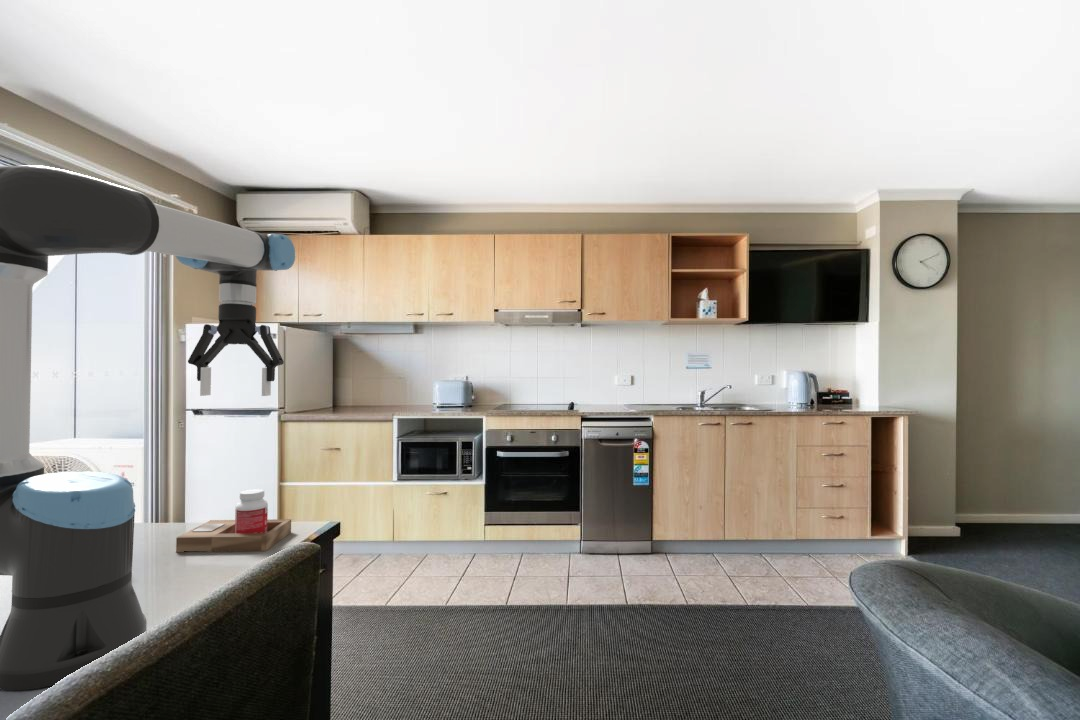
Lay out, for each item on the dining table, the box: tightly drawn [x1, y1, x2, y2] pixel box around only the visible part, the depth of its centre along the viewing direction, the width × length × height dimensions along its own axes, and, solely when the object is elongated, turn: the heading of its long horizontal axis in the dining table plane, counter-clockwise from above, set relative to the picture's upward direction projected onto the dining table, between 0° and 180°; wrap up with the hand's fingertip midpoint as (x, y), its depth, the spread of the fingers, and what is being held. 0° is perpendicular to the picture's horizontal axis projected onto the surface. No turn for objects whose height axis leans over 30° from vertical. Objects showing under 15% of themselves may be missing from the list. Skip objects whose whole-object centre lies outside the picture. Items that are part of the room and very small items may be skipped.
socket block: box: [175, 518, 292, 553], centre depth 110 cm, size 12×18×3 cm, turn 94°
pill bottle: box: [234, 488, 269, 533], centre depth 110 cm, size 6×6×11 cm
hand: (235, 395), depth 116 cm, fingers open, 13 cm apart
